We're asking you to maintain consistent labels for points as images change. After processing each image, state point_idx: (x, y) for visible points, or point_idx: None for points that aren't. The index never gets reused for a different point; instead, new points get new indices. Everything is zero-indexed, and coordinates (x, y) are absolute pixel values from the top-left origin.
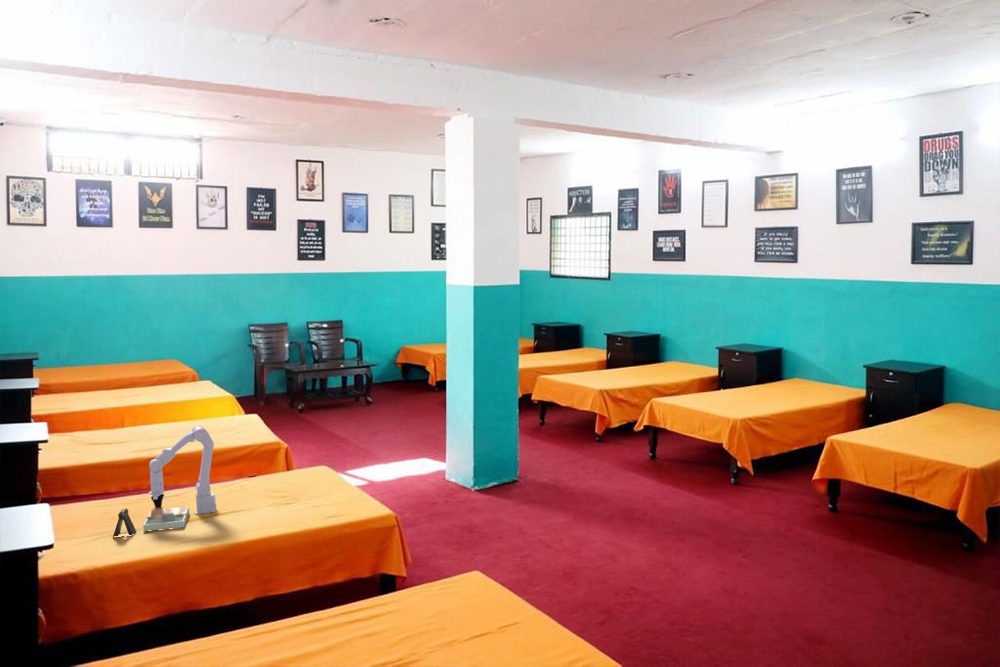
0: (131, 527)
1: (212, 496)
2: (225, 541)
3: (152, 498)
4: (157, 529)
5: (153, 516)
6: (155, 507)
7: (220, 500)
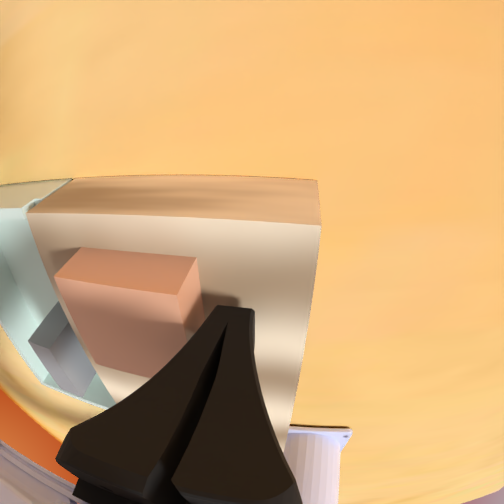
0: None
1: None
2: (10, 392)
3: (63, 447)
4: (2, 263)
5: (49, 270)
6: (199, 329)
7: (437, 455)
